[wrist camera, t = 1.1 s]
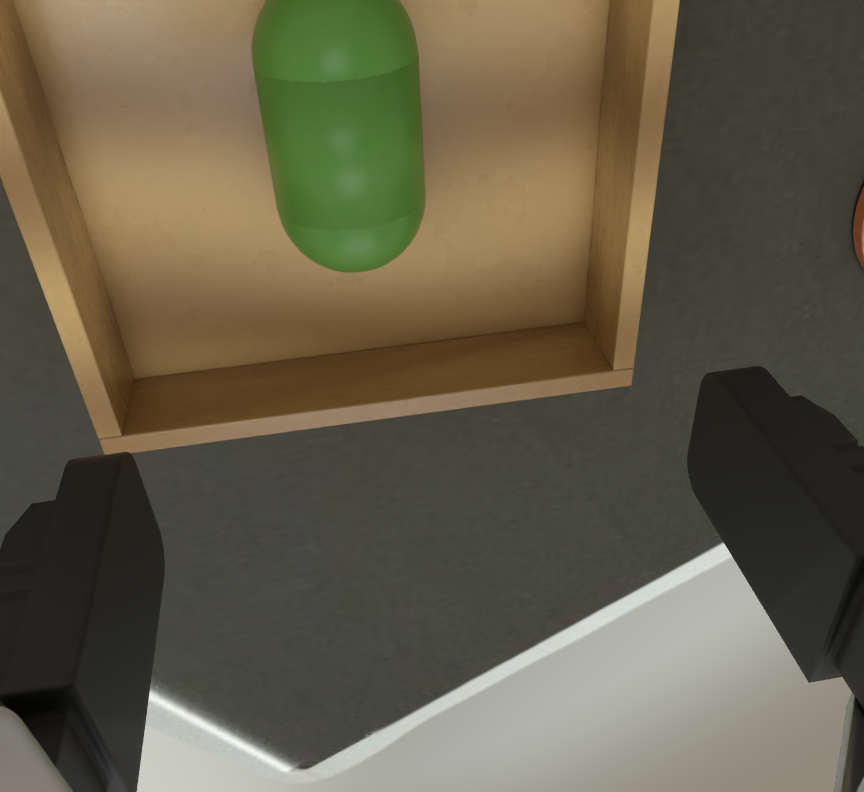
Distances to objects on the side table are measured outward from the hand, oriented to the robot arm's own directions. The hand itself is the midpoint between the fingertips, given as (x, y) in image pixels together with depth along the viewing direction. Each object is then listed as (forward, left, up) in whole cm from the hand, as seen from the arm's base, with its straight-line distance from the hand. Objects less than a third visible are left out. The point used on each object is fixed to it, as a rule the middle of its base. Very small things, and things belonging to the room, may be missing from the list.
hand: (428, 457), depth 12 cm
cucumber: (-1, 0, -14) cm, 14 cm away
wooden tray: (-1, 0, -15) cm, 15 cm away
